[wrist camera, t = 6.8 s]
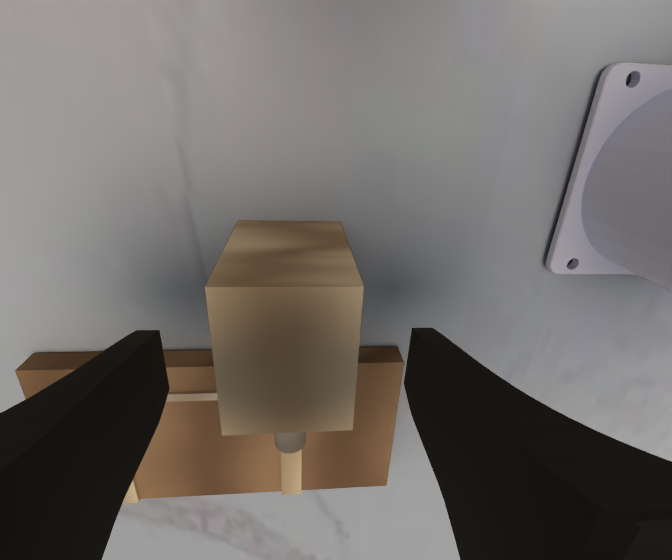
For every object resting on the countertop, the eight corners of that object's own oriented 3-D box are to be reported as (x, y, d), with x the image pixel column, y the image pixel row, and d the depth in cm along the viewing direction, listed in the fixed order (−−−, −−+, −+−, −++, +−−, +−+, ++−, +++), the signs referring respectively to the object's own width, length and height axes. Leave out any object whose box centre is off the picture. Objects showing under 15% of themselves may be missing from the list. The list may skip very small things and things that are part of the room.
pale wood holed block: (340, 221, 15) (363, 286, 10) (333, 372, 18) (348, 484, 13) (238, 220, 15) (204, 287, 10) (249, 374, 18) (228, 491, 13)
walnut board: (397, 346, 18) (405, 365, 17) (381, 466, 21) (387, 488, 20) (33, 353, 16) (11, 373, 15) (78, 480, 20) (63, 506, 19)
